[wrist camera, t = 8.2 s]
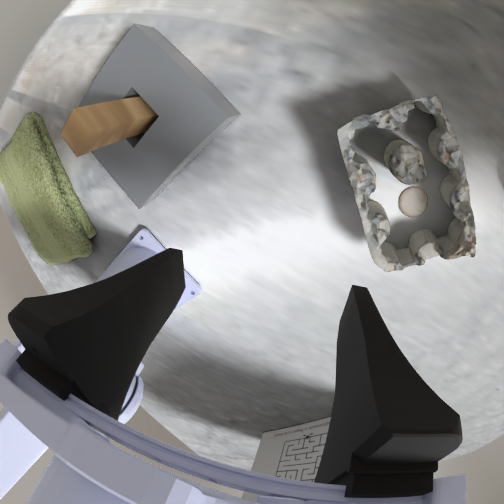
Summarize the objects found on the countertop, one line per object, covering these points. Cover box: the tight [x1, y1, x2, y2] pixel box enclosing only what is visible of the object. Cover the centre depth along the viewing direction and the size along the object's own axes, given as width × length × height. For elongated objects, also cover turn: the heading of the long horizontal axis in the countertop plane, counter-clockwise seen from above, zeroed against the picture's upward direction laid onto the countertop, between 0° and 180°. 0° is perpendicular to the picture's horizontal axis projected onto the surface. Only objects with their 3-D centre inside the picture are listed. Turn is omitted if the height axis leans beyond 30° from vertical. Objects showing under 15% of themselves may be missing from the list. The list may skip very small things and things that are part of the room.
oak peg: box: [61, 96, 159, 157], centre depth 16 cm, size 2×2×8 cm
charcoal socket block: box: [79, 24, 241, 209], centre depth 18 cm, size 10×10×2 cm
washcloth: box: [0, 112, 96, 265], centre depth 26 cm, size 13×18×3 cm
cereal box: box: [242, 417, 331, 502], centre depth 26 cm, size 22×8×25 cm, turn 139°
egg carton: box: [337, 96, 476, 272], centre depth 15 cm, size 11×8×4 cm
